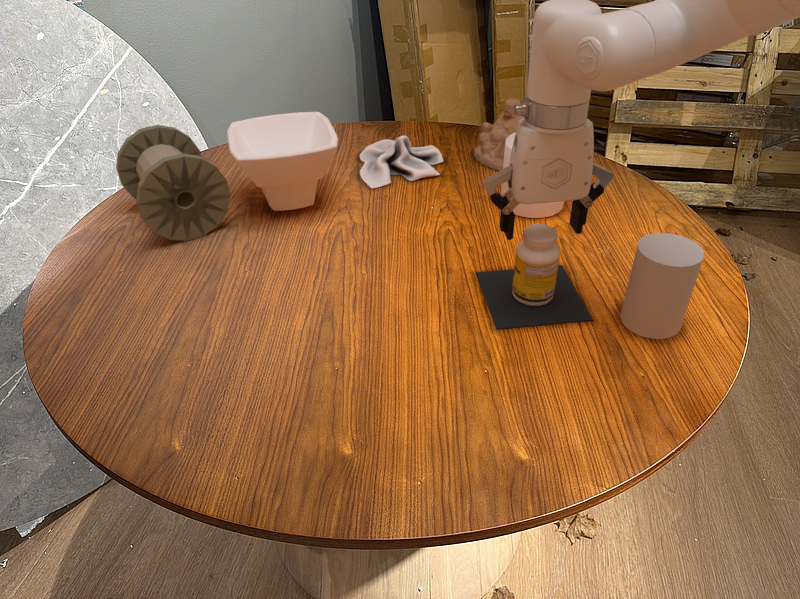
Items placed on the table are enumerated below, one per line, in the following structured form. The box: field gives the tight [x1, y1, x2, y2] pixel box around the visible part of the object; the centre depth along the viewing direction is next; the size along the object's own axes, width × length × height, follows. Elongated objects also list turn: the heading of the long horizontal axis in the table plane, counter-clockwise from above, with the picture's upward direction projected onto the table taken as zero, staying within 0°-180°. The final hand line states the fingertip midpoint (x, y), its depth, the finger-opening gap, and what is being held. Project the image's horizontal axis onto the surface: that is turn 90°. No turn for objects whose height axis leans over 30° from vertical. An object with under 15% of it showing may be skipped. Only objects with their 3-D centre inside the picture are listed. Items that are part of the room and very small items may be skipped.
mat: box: [475, 264, 594, 330], centre depth 93 cm, size 14×14×1 cm
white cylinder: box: [500, 133, 565, 219], centre depth 112 cm, size 12×12×12 cm
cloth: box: [359, 135, 444, 190], centre depth 128 cm, size 22×19×6 cm
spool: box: [115, 124, 231, 242], centre depth 110 cm, size 16×15×15 cm
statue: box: [473, 97, 524, 172], centre depth 129 cm, size 12×14×10 cm
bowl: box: [226, 111, 339, 212], centre depth 114 cm, size 19×19×14 cm
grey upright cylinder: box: [620, 232, 705, 340], centre depth 84 cm, size 8×8×12 cm
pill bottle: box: [512, 223, 561, 306], centre depth 89 cm, size 6×6×11 cm
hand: (541, 231), depth 86 cm, fingers open, 9 cm apart
